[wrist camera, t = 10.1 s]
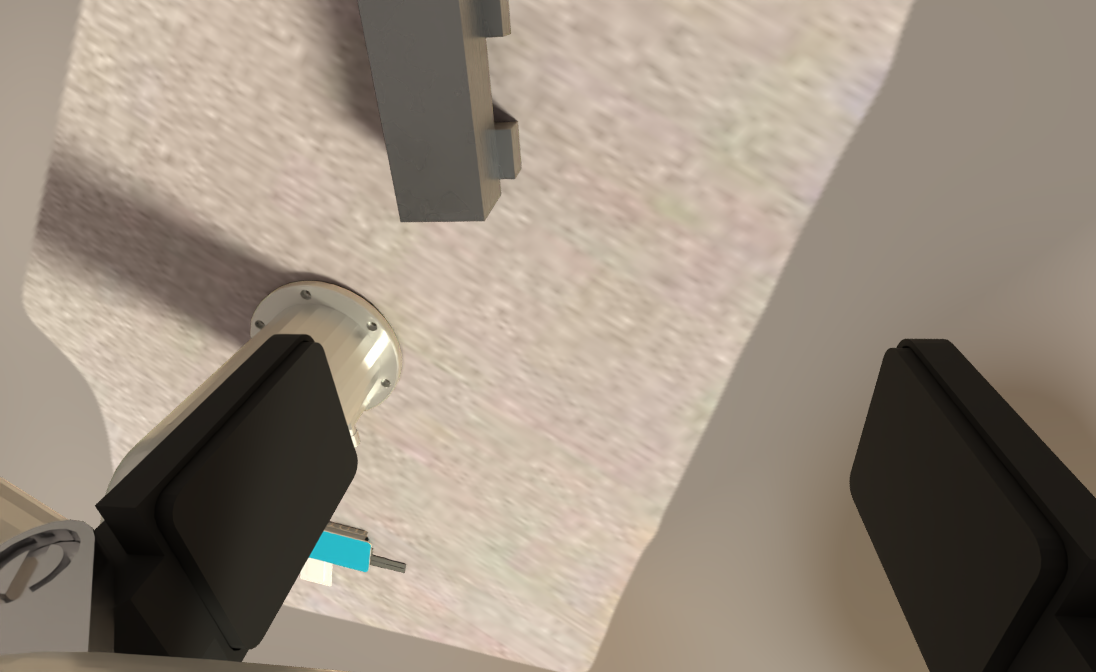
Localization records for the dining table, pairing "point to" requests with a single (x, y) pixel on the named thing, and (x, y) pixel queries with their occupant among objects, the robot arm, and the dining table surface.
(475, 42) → the metal sleeve
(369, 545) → the cyan and grey device
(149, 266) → the dining table surface
